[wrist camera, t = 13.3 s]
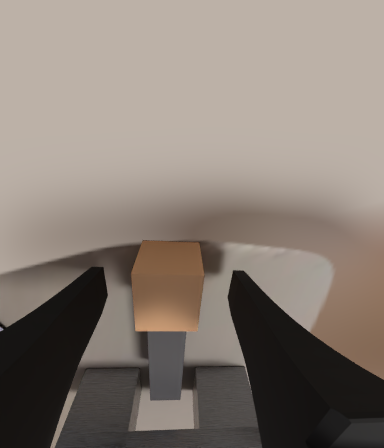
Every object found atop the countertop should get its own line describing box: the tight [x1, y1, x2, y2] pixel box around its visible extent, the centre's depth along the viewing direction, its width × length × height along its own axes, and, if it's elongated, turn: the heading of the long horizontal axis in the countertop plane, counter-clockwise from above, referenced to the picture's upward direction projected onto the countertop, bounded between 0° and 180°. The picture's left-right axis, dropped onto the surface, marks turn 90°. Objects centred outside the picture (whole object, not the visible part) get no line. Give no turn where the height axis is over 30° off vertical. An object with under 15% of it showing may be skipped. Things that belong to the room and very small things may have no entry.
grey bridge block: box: [55, 367, 262, 448], centre depth 16 cm, size 4×14×5 cm, turn 86°
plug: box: [131, 240, 204, 400], centre depth 13 cm, size 12×3×3 cm, turn 176°
